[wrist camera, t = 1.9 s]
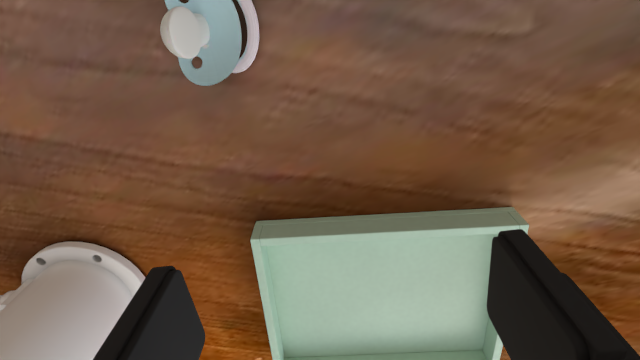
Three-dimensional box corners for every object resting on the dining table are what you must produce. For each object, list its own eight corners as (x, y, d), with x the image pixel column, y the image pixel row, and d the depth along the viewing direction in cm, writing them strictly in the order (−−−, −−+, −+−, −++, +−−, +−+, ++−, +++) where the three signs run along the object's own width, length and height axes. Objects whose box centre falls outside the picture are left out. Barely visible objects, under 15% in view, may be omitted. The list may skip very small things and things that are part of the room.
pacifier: (252, -33, 25) (165, -27, 25) (235, -44, 19) (124, -35, 19) (266, 75, 28) (190, 81, 28) (255, 93, 23) (160, 100, 23)
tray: (279, 356, 42) (276, 380, 39) (255, 220, 34) (249, 239, 31) (485, 348, 41) (497, 372, 38) (512, 206, 33) (529, 224, 30)
